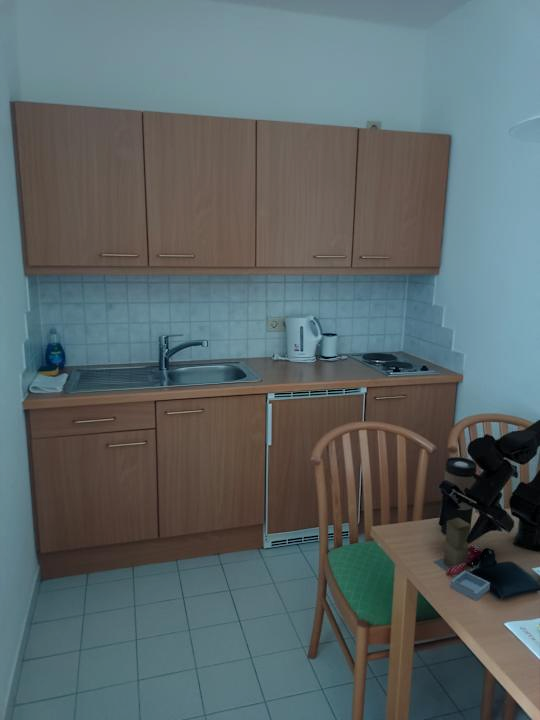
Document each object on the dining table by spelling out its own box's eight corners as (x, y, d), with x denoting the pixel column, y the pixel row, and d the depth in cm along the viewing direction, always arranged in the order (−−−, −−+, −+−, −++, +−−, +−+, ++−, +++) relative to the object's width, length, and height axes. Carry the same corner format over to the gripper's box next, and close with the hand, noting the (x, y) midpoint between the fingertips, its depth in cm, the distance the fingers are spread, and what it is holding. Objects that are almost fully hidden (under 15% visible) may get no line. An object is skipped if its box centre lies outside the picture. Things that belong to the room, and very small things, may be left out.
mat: (454, 556, 129) (454, 554, 128) (477, 571, 122) (477, 569, 122) (432, 563, 125) (432, 561, 125) (455, 579, 119) (455, 577, 119)
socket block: (463, 578, 120) (464, 569, 119) (489, 590, 115) (490, 581, 115) (450, 588, 116) (450, 579, 115) (475, 602, 111) (476, 593, 111)
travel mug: (434, 528, 142) (439, 458, 138) (458, 524, 144) (464, 455, 140) (451, 542, 134) (458, 469, 131) (476, 538, 137) (483, 466, 133)
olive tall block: (454, 559, 126) (458, 517, 124) (466, 567, 123) (470, 524, 121) (443, 563, 125) (446, 520, 123) (454, 571, 121) (458, 528, 119)
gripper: (540, 515, 120) (501, 571, 117) (475, 483, 136) (440, 532, 133) (520, 489, 115) (479, 547, 112) (455, 459, 131) (418, 509, 128)
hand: (453, 533), depth 122 cm, fingers open, 8 cm apart
